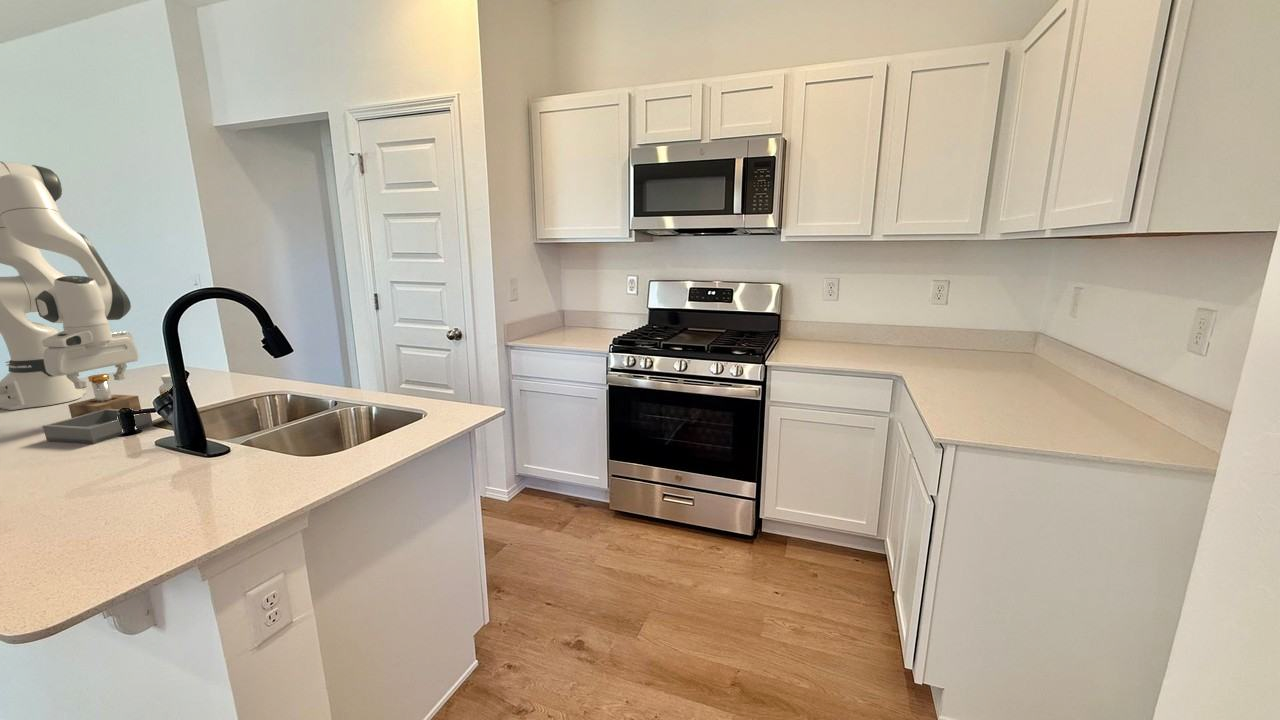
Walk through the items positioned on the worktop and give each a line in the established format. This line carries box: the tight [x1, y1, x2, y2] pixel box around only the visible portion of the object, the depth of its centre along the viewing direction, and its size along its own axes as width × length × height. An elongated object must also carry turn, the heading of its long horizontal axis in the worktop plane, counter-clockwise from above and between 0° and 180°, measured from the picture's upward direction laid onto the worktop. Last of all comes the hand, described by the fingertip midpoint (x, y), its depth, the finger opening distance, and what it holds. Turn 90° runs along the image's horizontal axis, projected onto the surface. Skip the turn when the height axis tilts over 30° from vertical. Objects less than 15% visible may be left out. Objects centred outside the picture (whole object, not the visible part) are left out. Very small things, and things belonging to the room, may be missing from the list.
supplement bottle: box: [158, 373, 193, 397], centre depth 146 cm, size 7×7×13 cm
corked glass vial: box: [88, 373, 112, 403], centre depth 147 cm, size 4×4×12 cm
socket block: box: [67, 394, 142, 419], centre depth 148 cm, size 10×10×5 cm
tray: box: [42, 409, 154, 445], centre depth 135 cm, size 14×14×4 cm
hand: (101, 383), depth 146 cm, fingers open, 8 cm apart
